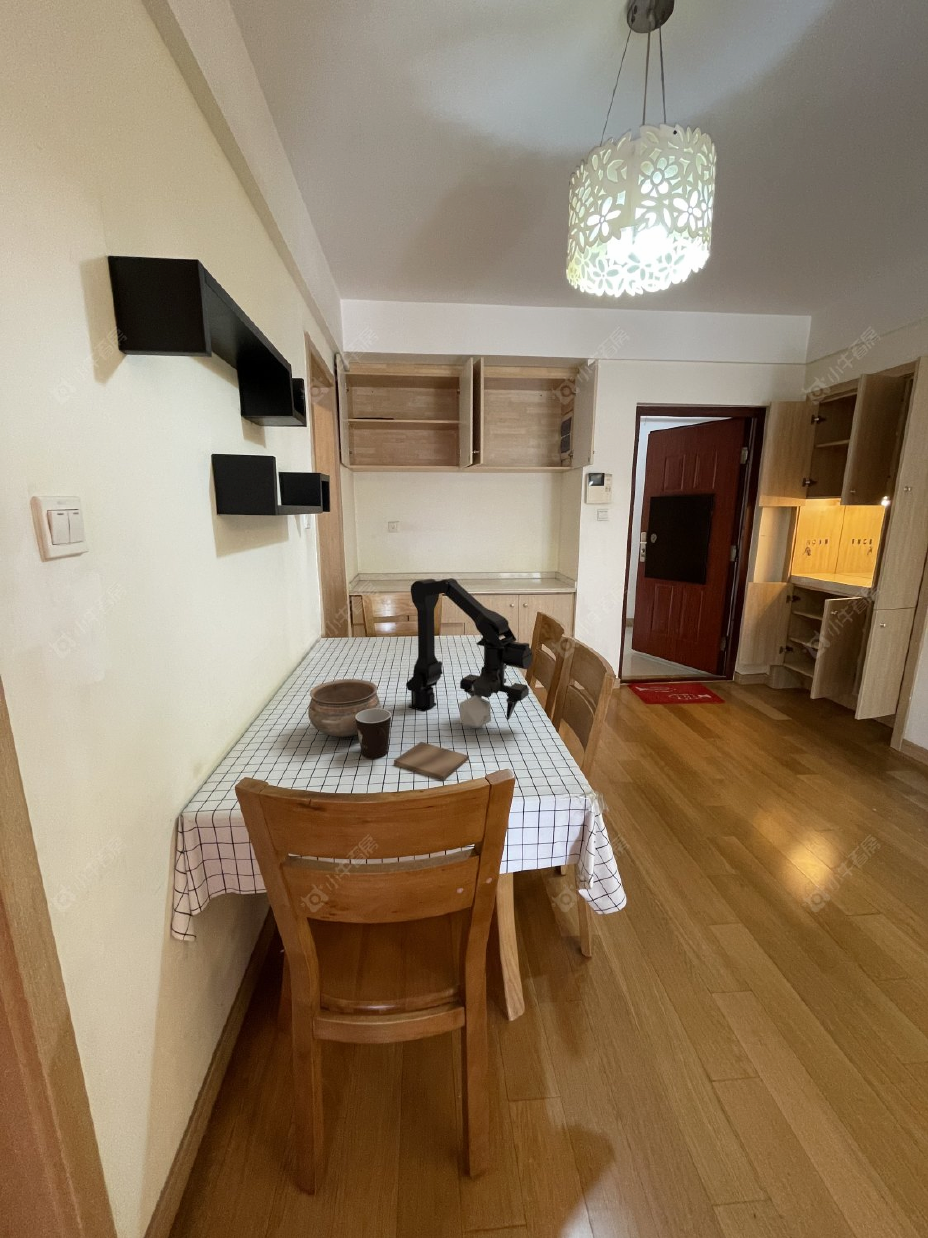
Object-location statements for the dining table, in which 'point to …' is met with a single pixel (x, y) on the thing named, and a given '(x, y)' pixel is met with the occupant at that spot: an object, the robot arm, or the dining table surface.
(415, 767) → the board
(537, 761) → the dining table surface
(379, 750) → the coffee mug
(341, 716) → the cooking pot
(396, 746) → the dining table surface
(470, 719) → the die
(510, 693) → the robot arm
